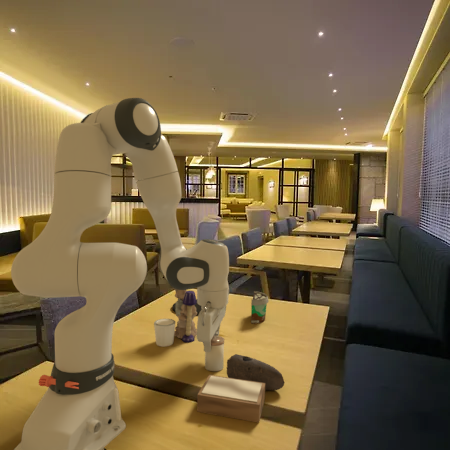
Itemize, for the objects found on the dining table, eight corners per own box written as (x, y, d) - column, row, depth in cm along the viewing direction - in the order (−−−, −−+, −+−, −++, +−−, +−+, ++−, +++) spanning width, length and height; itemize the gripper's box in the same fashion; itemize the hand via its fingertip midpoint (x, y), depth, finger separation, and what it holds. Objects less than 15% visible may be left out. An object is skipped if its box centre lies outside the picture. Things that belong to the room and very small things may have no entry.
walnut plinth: (259, 422, 75) (259, 404, 75) (197, 411, 79) (197, 393, 78) (264, 399, 84) (265, 382, 84) (209, 390, 87) (209, 373, 87)
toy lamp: (194, 337, 120) (195, 289, 118) (197, 342, 115) (198, 293, 114) (180, 338, 118) (181, 290, 117) (182, 344, 114) (183, 293, 112)
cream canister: (220, 372, 96) (221, 344, 95) (202, 369, 97) (202, 341, 96) (225, 364, 101) (226, 336, 100) (207, 361, 102) (208, 334, 102)
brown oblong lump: (286, 388, 89) (287, 362, 88) (280, 399, 84) (281, 372, 83) (233, 374, 95) (233, 349, 95) (224, 383, 91) (225, 358, 90)
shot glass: (171, 348, 110) (171, 326, 110) (150, 346, 112) (150, 324, 111) (178, 339, 117) (178, 319, 116) (158, 337, 118) (158, 317, 118)
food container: (267, 327, 129) (268, 300, 128) (250, 326, 130) (251, 299, 129) (268, 316, 141) (269, 291, 140) (253, 314, 142) (253, 290, 141)
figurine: (167, 334, 120) (167, 277, 118) (186, 328, 126) (186, 273, 124) (183, 342, 114) (184, 282, 112) (202, 335, 120) (203, 278, 118)
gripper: (215, 310, 88) (214, 362, 89) (230, 287, 108) (229, 330, 109) (190, 308, 89) (190, 359, 91) (210, 285, 109) (209, 327, 111)
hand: (211, 343), depth 100 cm, fingers open, 8 cm apart
